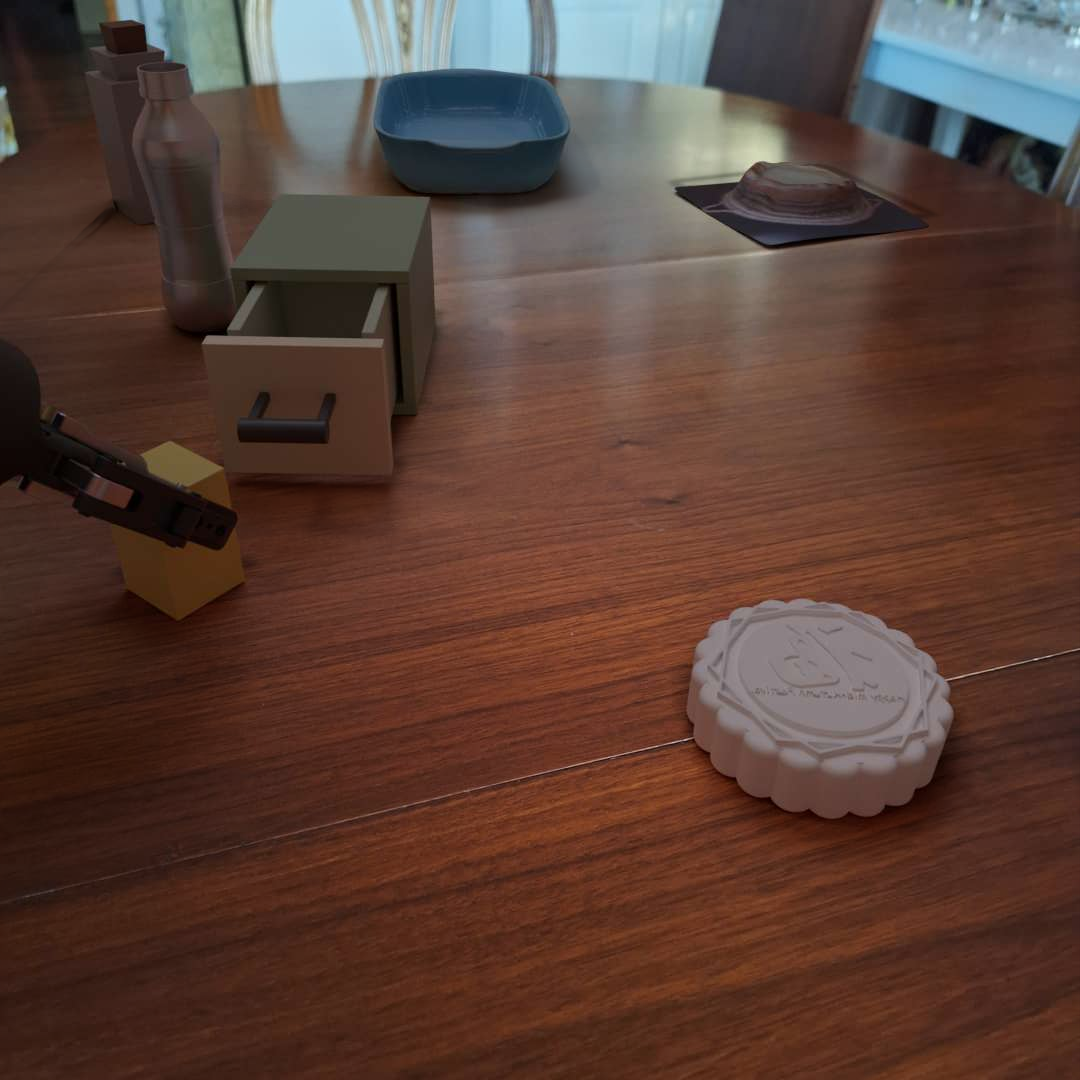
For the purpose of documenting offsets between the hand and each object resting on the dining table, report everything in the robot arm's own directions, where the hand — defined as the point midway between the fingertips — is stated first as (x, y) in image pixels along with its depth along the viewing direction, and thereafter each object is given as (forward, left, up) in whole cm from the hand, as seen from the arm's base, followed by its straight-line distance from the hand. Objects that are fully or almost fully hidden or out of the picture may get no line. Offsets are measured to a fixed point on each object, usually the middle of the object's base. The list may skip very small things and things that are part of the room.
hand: (175, 502), depth 55 cm
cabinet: (+5, +28, -5) cm, 29 cm away
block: (0, 0, -5) cm, 5 cm away
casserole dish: (+11, +85, -6) cm, 86 cm away
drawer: (+5, +15, -4) cm, 16 cm away
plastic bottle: (-8, +35, -6) cm, 36 cm away
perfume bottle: (-21, +64, -6) cm, 67 cm away
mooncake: (+33, -10, -6) cm, 35 cm away
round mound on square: (+48, +69, -6) cm, 84 cm away
